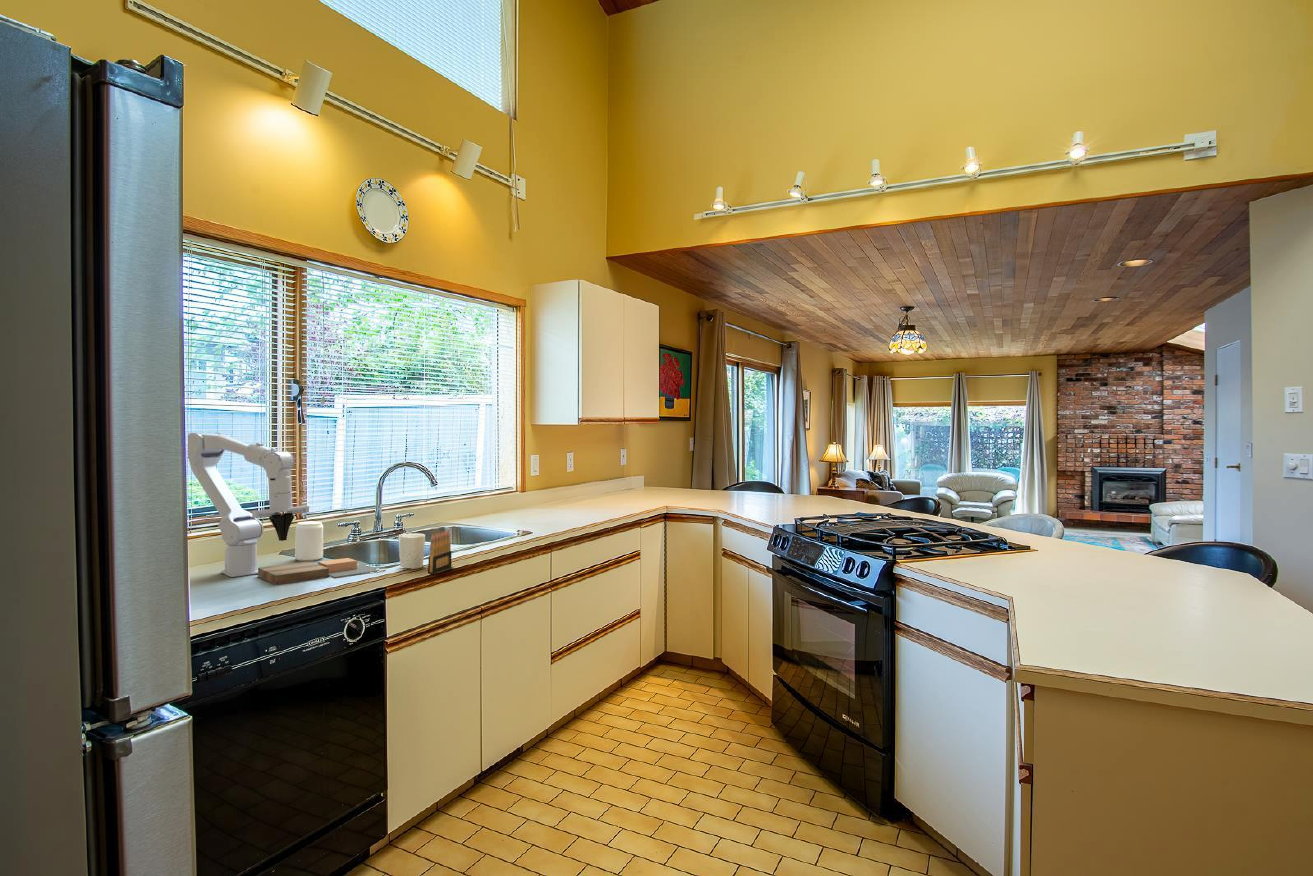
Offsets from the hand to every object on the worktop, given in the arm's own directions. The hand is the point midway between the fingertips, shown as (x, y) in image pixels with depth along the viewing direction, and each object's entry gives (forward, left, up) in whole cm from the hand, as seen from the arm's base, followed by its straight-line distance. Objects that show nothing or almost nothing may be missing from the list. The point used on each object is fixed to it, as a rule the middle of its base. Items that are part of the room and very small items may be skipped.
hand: (282, 540), depth 190 cm
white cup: (+13, +33, -11) cm, 37 cm away
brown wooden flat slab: (+3, +2, -11) cm, 11 cm away
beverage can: (-20, +15, -11) cm, 28 cm away
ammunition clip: (+23, +37, -11) cm, 45 cm away
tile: (+3, +15, -9) cm, 17 cm away
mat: (+4, +17, -11) cm, 20 cm away
